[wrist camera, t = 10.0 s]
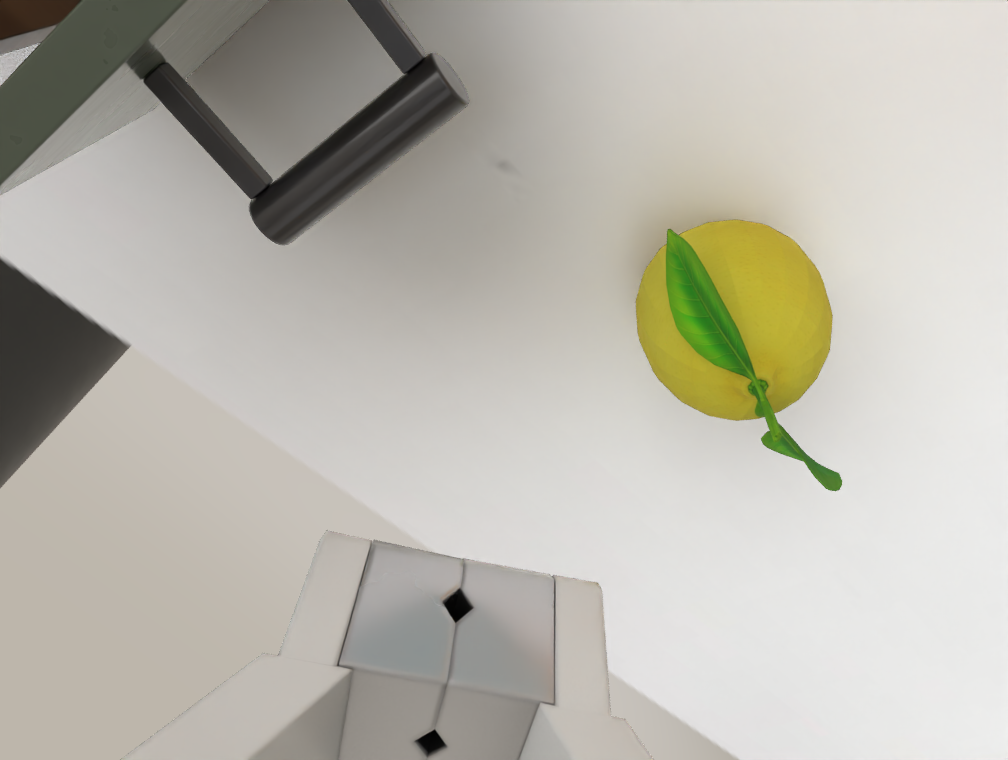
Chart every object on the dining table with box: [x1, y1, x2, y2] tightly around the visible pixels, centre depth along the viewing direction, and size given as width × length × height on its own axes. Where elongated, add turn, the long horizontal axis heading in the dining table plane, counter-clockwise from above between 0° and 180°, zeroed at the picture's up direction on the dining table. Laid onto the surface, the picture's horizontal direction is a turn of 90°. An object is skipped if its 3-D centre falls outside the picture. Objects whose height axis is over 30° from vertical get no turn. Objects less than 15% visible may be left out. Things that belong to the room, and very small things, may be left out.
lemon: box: [636, 220, 842, 491], centre depth 23 cm, size 7×6×10 cm
